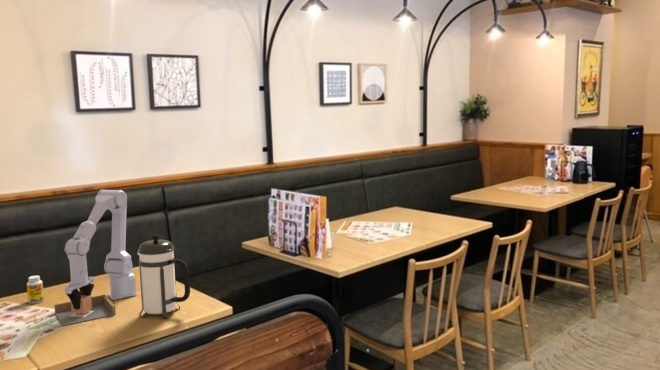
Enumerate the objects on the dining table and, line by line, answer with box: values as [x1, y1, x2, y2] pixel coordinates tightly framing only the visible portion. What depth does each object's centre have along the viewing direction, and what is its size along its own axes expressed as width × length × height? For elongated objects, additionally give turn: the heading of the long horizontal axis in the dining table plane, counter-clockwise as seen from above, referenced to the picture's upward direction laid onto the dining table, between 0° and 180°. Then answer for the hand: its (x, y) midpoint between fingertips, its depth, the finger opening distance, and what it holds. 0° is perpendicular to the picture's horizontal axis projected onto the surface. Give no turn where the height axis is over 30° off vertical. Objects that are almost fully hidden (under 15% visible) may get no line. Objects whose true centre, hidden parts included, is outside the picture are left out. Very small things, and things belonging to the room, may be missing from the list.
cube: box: [71, 295, 92, 313], centre depth 202 cm, size 5×5×5 cm
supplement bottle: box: [26, 275, 45, 304], centre depth 216 cm, size 6×6×10 cm
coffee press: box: [137, 233, 191, 320], centre depth 201 cm, size 17×16×30 cm
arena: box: [54, 294, 117, 327], centre depth 202 cm, size 18×16×3 cm
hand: (81, 306), depth 202 cm, fingers closed on cube, 5 cm apart
